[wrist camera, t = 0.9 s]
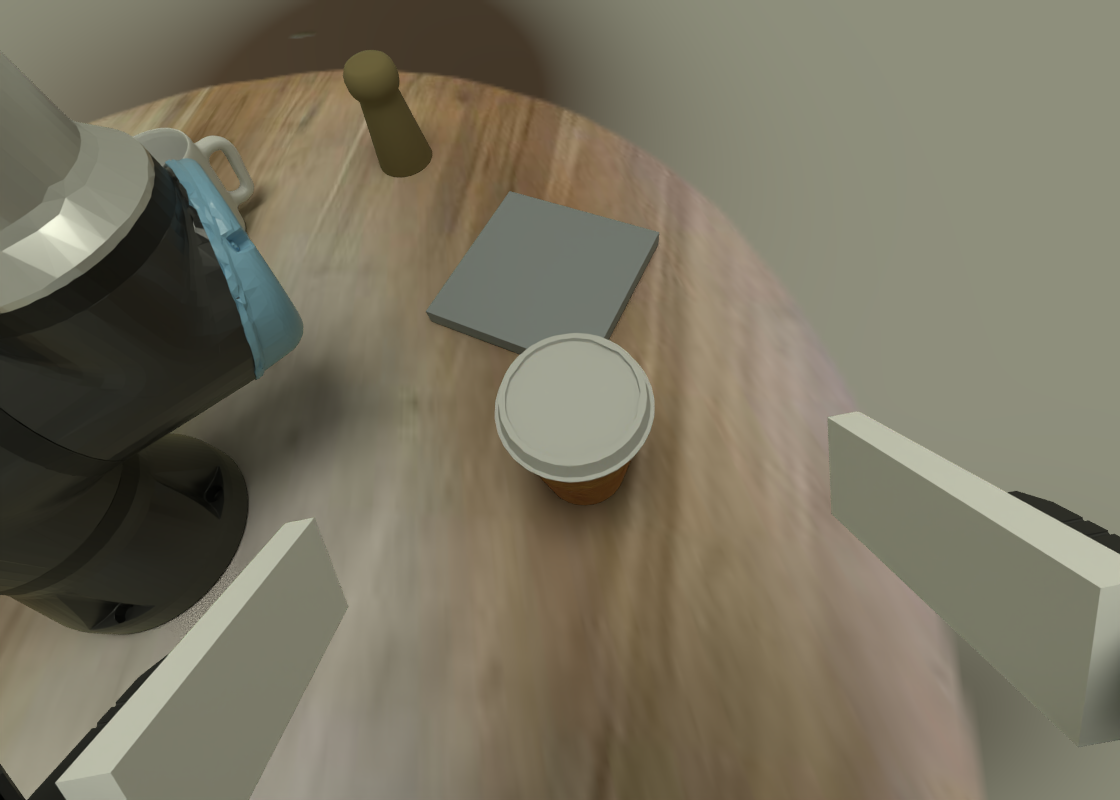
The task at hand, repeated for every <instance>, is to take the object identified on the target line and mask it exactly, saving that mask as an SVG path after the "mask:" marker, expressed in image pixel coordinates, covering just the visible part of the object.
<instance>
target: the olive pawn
mask: <svg viewBox="0 0 1120 800" xmlns="http://www.w3.org/2000/svg"><path fill="white" fill-rule="evenodd" d="M343 78H344V82H345V84H346V86H347V88H348V90H349V92H350V94H351V95H352V96H353V97H354V98H355V99H356V100H358V101H359V102H360V104H361V108H362V111H363V114H364V117H365V120H366V123H367V126H368V129H369V132H370V135H371V139H372V142H373V145H374V148H375V151H376V154H377V157H378V160H379V163H380V166H381V168H382V170H383V172H385V173H386V174H387V175H389V176H393V177H406V176H411V175H413V174H416V173H418V172H420V171H421V170H423V169H424V168H425V167H426V166H427V165H428V164H429V163H430V160H431V158H432V150H431V148H430V147H429V145H428V143H427V141H426V139H425V137H424V135H423V134H422V132H421V130H420V128H419V126H418V124H417V122H416V120H415V119H414V117H413V115H412V113H411V111H410V109H409V107H408V106H407V104H406V102H405V100H404V98H403V96H402V94H401V92H400V91H399V89H398V87H399V74H398V71H397V68H396V66H395V64H394V63H393V61H392V60H391V58H390V57H389V56H387V55H386V54H385V53H383V52H381V51H377V50H367V51H362V52H360V53H357V54H355V55H354V56H352V57H351V58H350V59H349V60H348V61H347V62H346V64H345V66H344V73H343Z"/></svg>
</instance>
